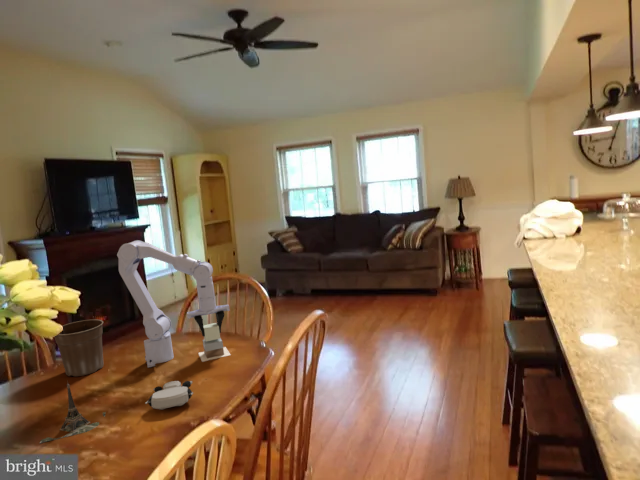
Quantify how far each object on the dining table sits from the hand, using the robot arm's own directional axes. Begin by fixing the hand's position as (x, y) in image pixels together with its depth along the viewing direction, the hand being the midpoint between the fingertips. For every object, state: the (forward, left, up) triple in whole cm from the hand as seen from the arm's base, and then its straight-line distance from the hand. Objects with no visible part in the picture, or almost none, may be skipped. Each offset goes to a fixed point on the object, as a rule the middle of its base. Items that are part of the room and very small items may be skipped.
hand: (211, 333), depth 165 cm
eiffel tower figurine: (-42, -29, -9) cm, 52 cm away
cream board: (0, 0, -8) cm, 8 cm away
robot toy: (-17, -29, -9) cm, 35 cm away
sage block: (0, 0, -2) cm, 2 cm away
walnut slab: (0, 0, -7) cm, 7 cm away
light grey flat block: (0, 0, -5) cm, 5 cm away
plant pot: (-43, +16, -8) cm, 47 cm away
